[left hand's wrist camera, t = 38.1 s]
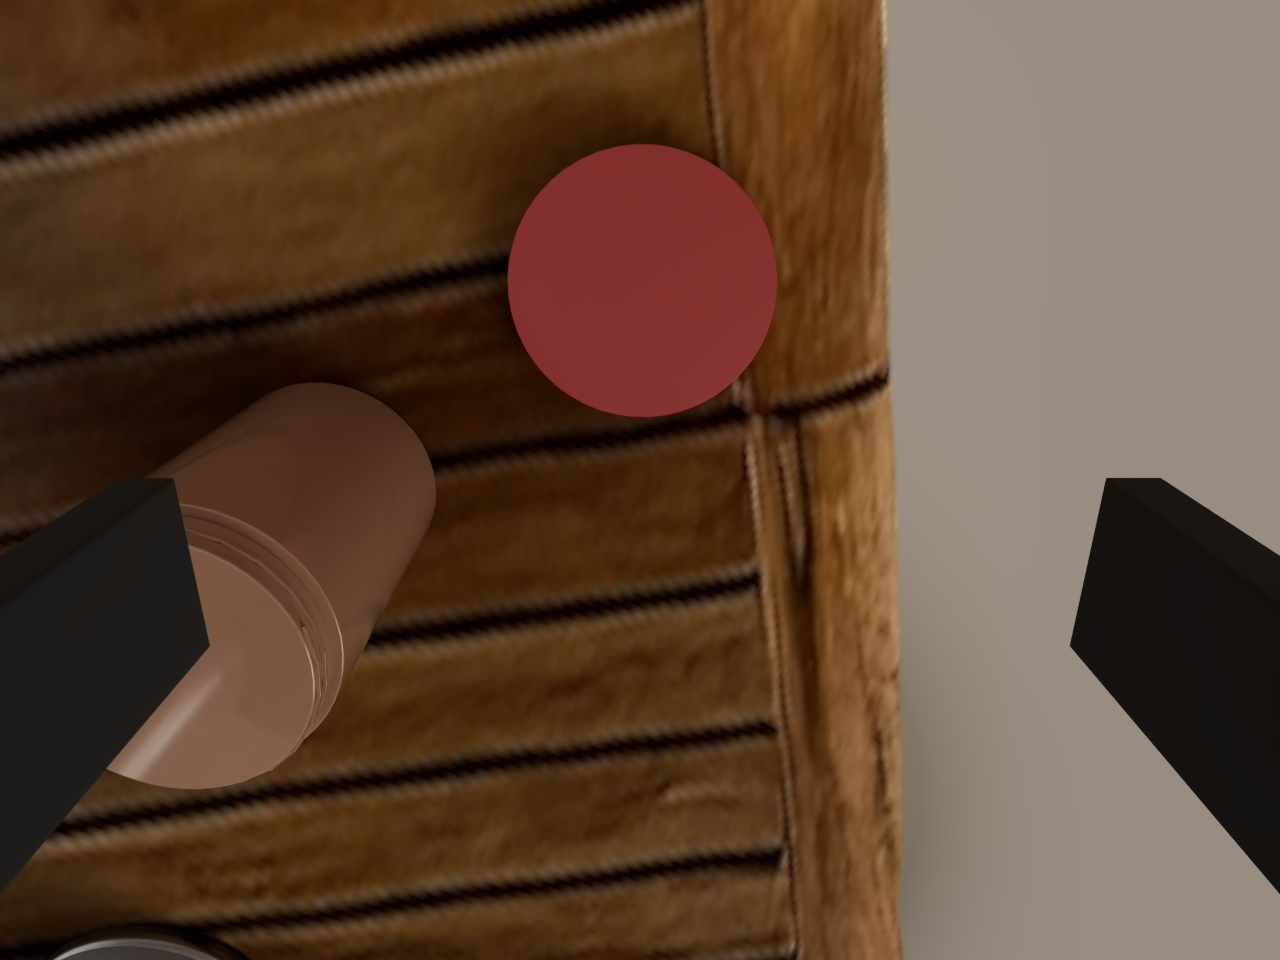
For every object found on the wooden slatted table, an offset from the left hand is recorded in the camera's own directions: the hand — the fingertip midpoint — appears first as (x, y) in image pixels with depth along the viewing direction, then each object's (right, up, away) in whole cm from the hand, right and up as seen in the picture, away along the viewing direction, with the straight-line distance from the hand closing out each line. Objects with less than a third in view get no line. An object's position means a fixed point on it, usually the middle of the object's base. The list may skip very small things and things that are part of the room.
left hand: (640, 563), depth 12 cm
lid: (0, +9, +23) cm, 24 cm away
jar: (-14, +1, +27) cm, 31 cm away
